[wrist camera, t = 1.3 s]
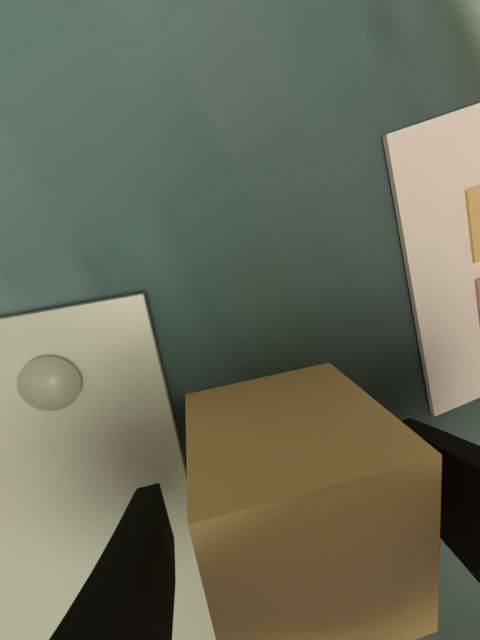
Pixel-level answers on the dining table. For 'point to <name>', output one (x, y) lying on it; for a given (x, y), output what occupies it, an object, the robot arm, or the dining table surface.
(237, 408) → the ochre brick
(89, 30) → the dining table surface
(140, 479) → the plate
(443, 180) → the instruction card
